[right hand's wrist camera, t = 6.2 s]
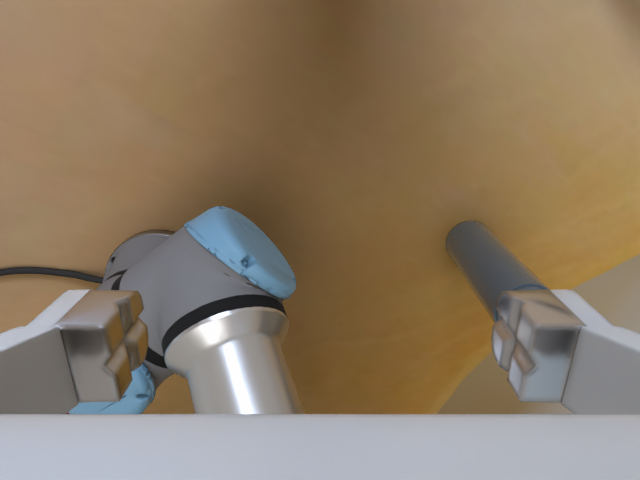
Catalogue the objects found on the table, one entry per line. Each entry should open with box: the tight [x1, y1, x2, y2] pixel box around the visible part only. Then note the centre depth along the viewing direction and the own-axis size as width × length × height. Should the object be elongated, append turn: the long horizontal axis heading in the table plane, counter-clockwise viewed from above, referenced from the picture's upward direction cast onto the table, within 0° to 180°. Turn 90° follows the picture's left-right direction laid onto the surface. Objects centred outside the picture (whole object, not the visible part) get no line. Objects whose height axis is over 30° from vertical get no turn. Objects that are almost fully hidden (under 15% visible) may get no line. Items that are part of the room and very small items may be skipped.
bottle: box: [446, 221, 550, 323], centre depth 50 cm, size 6×6×24 cm
